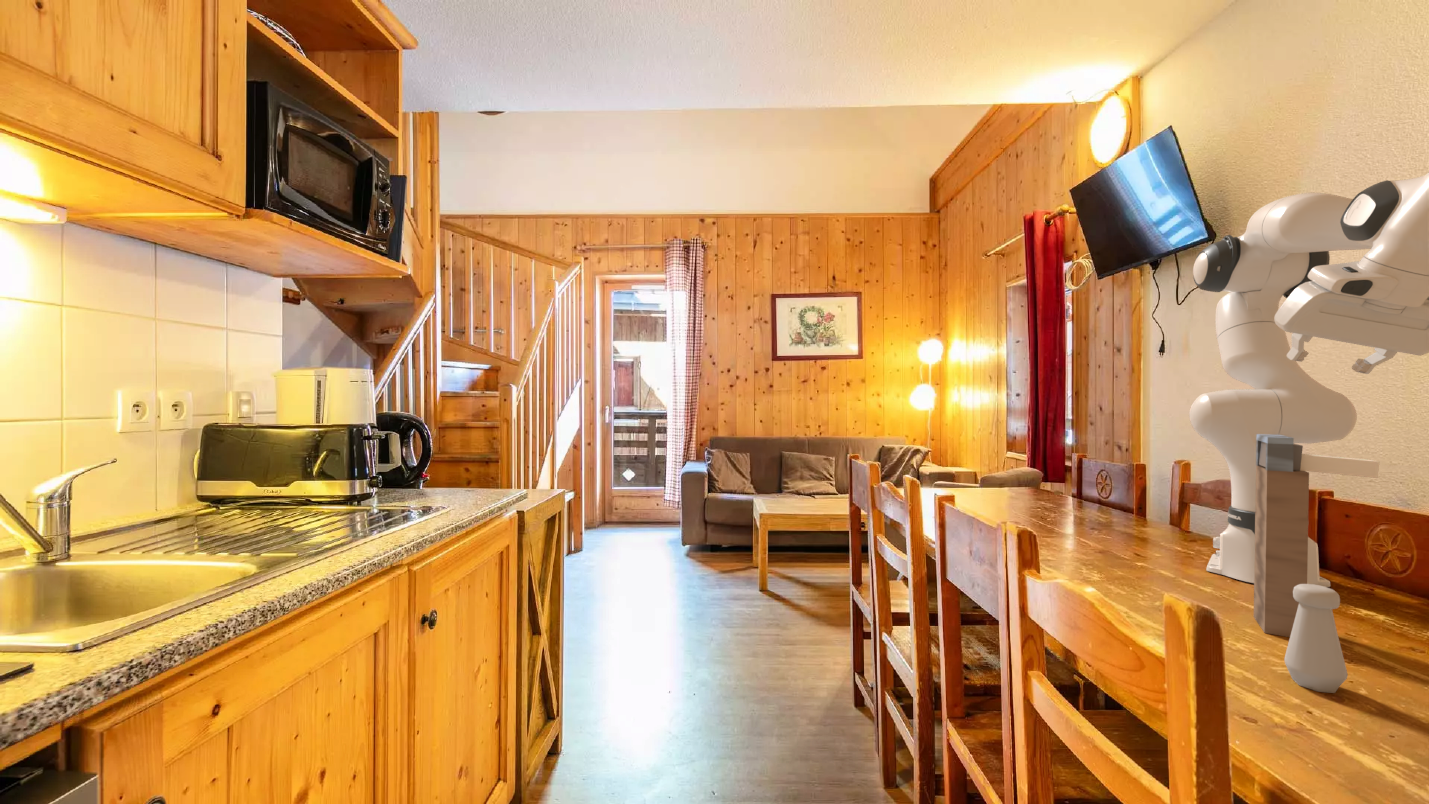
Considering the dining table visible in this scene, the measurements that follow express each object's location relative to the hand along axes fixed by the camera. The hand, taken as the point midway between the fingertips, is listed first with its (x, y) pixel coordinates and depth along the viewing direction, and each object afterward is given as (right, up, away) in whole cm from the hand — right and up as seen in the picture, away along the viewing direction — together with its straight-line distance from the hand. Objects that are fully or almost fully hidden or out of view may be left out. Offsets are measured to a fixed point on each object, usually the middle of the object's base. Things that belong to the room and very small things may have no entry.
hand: (1326, 365), depth 95 cm
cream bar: (-3, -17, -1) cm, 17 cm away
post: (-6, -43, +2) cm, 43 cm away
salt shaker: (-19, -43, -17) cm, 50 cm away
